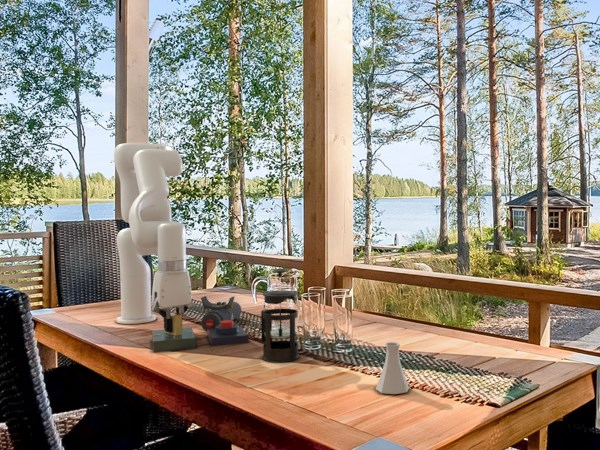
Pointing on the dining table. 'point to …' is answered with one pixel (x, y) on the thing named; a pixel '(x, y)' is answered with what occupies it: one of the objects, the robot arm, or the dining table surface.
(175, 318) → the tan flat block
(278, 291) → the french press
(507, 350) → the dining table surface
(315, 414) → the dining table surface
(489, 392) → the dining table surface
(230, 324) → the red button
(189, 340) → the panel
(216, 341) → the button block
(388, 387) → the flask
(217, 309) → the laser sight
